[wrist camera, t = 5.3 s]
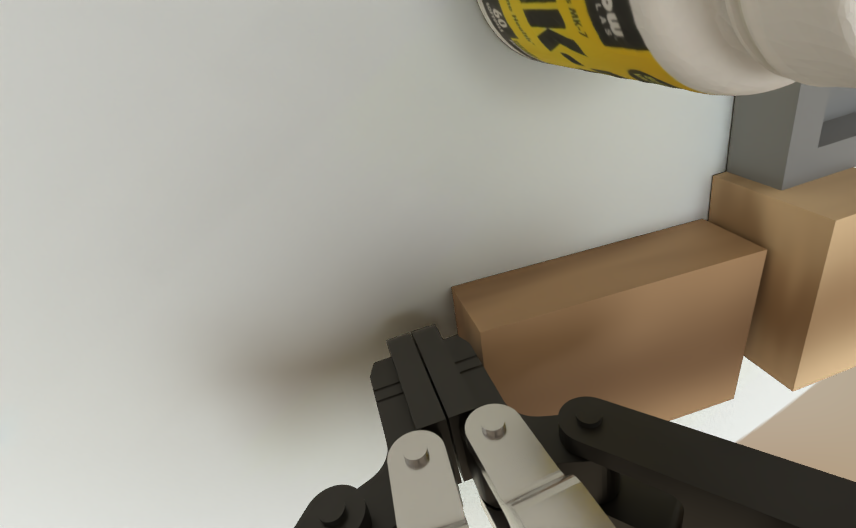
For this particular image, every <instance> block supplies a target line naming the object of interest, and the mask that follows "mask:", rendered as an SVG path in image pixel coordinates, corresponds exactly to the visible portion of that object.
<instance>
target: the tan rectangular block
mask: <svg viewBox="0 0 856 528" xmlns="http://www.w3.org/2000/svg"><path fill="white" fill-rule="evenodd" d="M708 222H711V223H713V224H715V225H717V226H719V227H721V228H723V229H725V230H727V231H730V232H732V233H734V234H736V235H738V236H740V237H742V238H744V239H746V240H749V241H751V242H753V243H755V244H757V245H759V246H761V247H763V248H765V249H767V254H766V258H765V263H764V267H763V271H762V276H761V280H760V285H759V289H758V293H757V298H756V302H755V307H754V311H753V315H752V320H751V324H750V329H749V333H748V337H747V342H746V346H745V351H744V355H743V356H745V357H746V358H748V359H749V360H750V361H752V362H753V363H754V364H756V365H757V366H758V367H760V368H761V369H763V370H764V371H765V372H767V373H768V374H769V375H771V376H772V377H774V378H775V379H776V380H778V381H779V382H780V383H782V384H783V385H785V386H786V387H787V388H789V389H790V390H791V391H795V390H798V389H800V388H803V387H805V386H808V385H810V384H813V383H815V382H818V381H820V380H823V379H825V378H828V377H830V376H833V375H836V374H838V373H840V372H843V371H846V370H848V369H851V368H853V367H856V168H853V167H852V168H849V169H846V170H843V171H840V172H837V173H834V174H831V175H828V176H825V177H822V178H819V179H816V180H813V181H809V182H806V183H803V184H800V185H797V186H794V187H791V188H788V189H785V190H782V191H781V190H778V189H775V188H772V187H770V186H767V185H764V184H761V183H758V182H755V181H752V180H749V179H746V178H744V177H741V176H738V175H735V174H732V173H729V172H723V173H720V174H717V175H714V176H713V181H712V191H711V200H710V210H709V219H708Z"/></svg>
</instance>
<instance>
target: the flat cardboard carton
mask: <svg viewBox="0 0 856 528" xmlns="http://www.w3.org/2000/svg"><path fill="white" fill-rule="evenodd" d="M766 254H767V249H765V248H763V247H761V246H759V245H757V244H755V243H753V242H751V241H749V240H746V239H744V238H742V237H740V236H738V235H736V234H734V233H732V232H730V231H727V230H725V229H723V228H721V227H719V226H717V225H715V224H713V223H711V222H708V221H706V220H704V219H700V220H696V221H692V222H689V223H685V224H681V225H678V226H674V227H670V228H666V229H663V230H659V231H655V232H652V233H648V234H644V235H641V236H637V237H633V238H630V239H626V240H622V241H618V242H615V243H611V244H607V245H604V246H600V247H596V248H593V249H589V250H585V251H582V252H578V253H574V254H571V255H567V256H563V257H559V258H556V259H552V260H548V261H545V262H541V263H537V264H534V265H530V266H526V267H523V268H519V269H515V270H511V271H508V272H504V273H500V274H497V275H493V276H489V277H486V278H482V279H478V280H475V281H471V282H467V283H463V284H460V285H456V286H452V287H451V289H452V296H453V303H454V310H455V318H456V325H457V332H458V336H459V337H461V338H463V339H464V340H466V341H467V342H469V343H470V344H471V346H472V348H473V349H474V351H475V353H476V355H477V357H478V358H479V360H480V361H481V363H482V365H483V367H484V368H485V370H486V371H487V373H488V375H489V377H490V378H491V380H492V382H493V383H494V385H495V387H496V388H497V390H498V392H499V393H500V395H501V397H502V399H503V400H504V402H505V403H506V405H507V406H509V407H511V408H513V409H514V410H515V411H517V413H520V414H523V415H527V416H552V415H558V413H559V411H560V408H561V407H562V406H563V405H564V404H565V403H566V402H568V401H569V400H571V399H574V398H577V397H584V396H589V397H596V398H599V399H602V400H606V401H609V402H612V403H615V404H618V405H621V406H624V407H627V408H630V409H633V410H636V411H639V412H642V413H645V414H648V415H651V416H655V417H658V418H661V419H664V420H667V421H670V420H673V419H676V418H679V417H682V416H685V415H688V414H690V413H693V412H696V411H699V410H702V409H705V408H708V407H711V406H714V405H717V404H719V403H722V402H725V401H728V400H731V399H734V395H735V390H736V386H737V381H738V377H739V373H740V368H741V364H742V359H743V355H744V351H745V346H746V342H747V337H748V333H749V329H750V324H751V320H752V315H753V311H754V307H755V302H756V298H757V293H758V289H759V285H760V280H761V276H762V271H763V267H764V263H765V258H766Z"/></svg>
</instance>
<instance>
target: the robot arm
mask: <svg viewBox="0 0 856 528" xmlns="http://www.w3.org/2000/svg"><path fill="white" fill-rule="evenodd" d="M411 334H412V336H411ZM411 334H410V333H407V334H404V335H401V336H398V337H395V338H392V339H389V340H386V341H387V345H388V348H389V351H390V355H391V357H390V358H387V359H384V360H381V361H378V362H375V363H374V365H373V368H372V372H371V375H370V379H371V383H372V387H373V391H374V395H375V398H376V402H377V406H378V410H379V414H380V418H381V422H382V426H383V430H384V434H385V438H386V442H387V447H388V453H387V457H386V460H385V462H384V464H383V466H382V468H381V469H380V470H379V472H378V473H377V474H376V475H375V476H374V477H373V478H371V479H370V480H369V481H367V482H366V483H365V484H363V485H362V486H361V487H359V488H358V489H356V488H355V487H352V486H349V485H336V486H333V487H330V488H327V489H325V490H324V491H322V492H321V493H319V494H318V495H317V496H316V497H315V498H314V499H313V500H312V501H311V502H310V504H309V505H308V506H307V508H306V510H305V511H304V513H303V514H302V516H301V518H300V519H299V521H298V522H297V524H296V526H295V527H294V528H469V526H468V523H467V520H466V517H465V514H464V511H463V503H462V499H461V495H460V491H459V487H458V484H460V483H462V482H461V478H460V473H461V475H462V478H463V480H464V481H467V480H470V479H472V478H473V480H474V482H475V485H476V487H477V489H478V492H479V496H480V501H481V505H482V507H483V510H484V512H485V514H486V515H487V517H488V519H489V521H490V523H491V525H492V527H493V528H856V482H853V481H850V480H847V479H844V478H841V477H838V476H835V475H832V474H829V473H826V472H823V471H820V470H817V469H814V468H811V467H808V466H805V465H801V464H798V463H795V462H792V461H789V460H786V459H783V458H780V457H777V456H774V455H771V454H768V453H765V452H762V451H759V450H755V449H753V448H750V447H746V446H743V445H740V444H737V443H734V442H731V441H728V440H725V439H722V438H719V437H716V436H713V435H710V434H707V433H704V432H700V431H697V430H694V429H691V428H688V427H685V426H682V425H679V424H676V423H673V422H670V421H667V420H664V419H661V418H658V417H655V416H651V415H648V414H645V413H642V412H639V411H636V410H633V409H630V408H627V407H624V406H621V405H618V404H615V403H612V402H609V401H606V400H602V399H599V398H596V397H589V396H584V397H577V398H574V399H571V400H569V401H568V402H566V403H565V404H564V405H563V406H562V407H561V408H560V411H559V413H558V415H552V416H527V415H523V414H520V413H517V411H515V410H514V409H513V408H511V407H509V406H507V405H506V403H505V402H504V400H503V399H502V397H501V395H500V393H499V392H498V390H497V388H496V387H495V385H494V383H493V382H492V380H491V378H490V377H489V375H488V373H487V371H486V370H485V368H484V367H483V365H482V363H481V361H480V360H479V358H478V357H477V355H476V353H475V351H474V349H473V348H472V346H471V344H470V343H469V342H467V341H466V340H464V339H463V338H461V337H459V336H458V335H455V336H452V337H450V338H447V339H444V340H443V339H442V337H441V335H440V333H439V331H438V329H437V327H436V326H435V324H434V325H431V326H428V327H425V328H422V329H419V330H416V331H413V332H411ZM412 338H413V339H412ZM458 468H459V469H458ZM459 470H460V473H459Z"/></svg>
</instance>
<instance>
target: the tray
mask: <svg viewBox="0 0 856 528" xmlns="http://www.w3.org/2000/svg"><path fill="white" fill-rule="evenodd" d="M855 166H856V88H846V87H816V86H810V85H805V84H802V83H799V82H795V83H792V84H790V85H787V86H784V87H782V88H778V89H775V90H771V91H768V92H764V93H758V94H752V95H740V96H735V104H734V112H733V120H732V129H731V137H730V146H729V154H728V162H727V171H726V172H729V173H732V174H735V175H738V176H741V177H744V178H746V179H749V180H752V181H755V182H758V183H761V184H764V185H767V186H770V187H772V188H775V189H778V190H781V191H782V190H785V189H788V188H791V187H794V186H797V185H800V184H803V183H806V182H809V181H813V180H816V179H819V178H822V177H825V176H828V175H831V174H834V173H837V172H840V171H843V170H846V169H849V168H852V167H855Z"/></svg>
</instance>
